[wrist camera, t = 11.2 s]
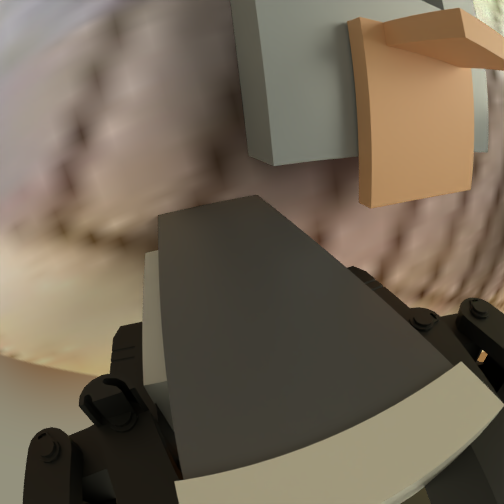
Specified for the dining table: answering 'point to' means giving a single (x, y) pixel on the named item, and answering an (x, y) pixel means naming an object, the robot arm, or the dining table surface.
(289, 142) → the socket
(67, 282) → the dining table surface
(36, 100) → the dining table surface
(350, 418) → the plug
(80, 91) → the dining table surface
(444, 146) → the tan plate with tab
